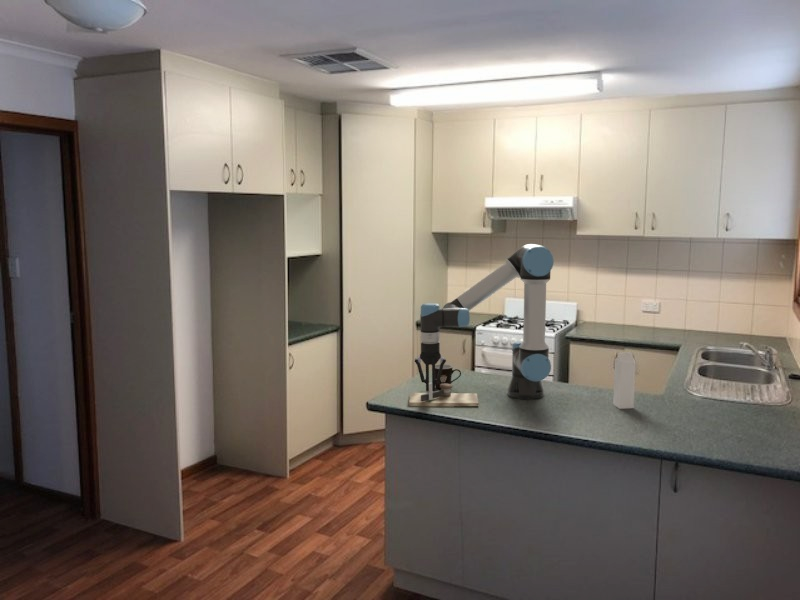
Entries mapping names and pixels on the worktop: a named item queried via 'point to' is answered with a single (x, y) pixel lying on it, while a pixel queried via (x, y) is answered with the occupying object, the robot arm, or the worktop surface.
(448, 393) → the dark grey square rod
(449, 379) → the coffee mug
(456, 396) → the wooden board
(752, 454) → the worktop surface
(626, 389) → the milk
